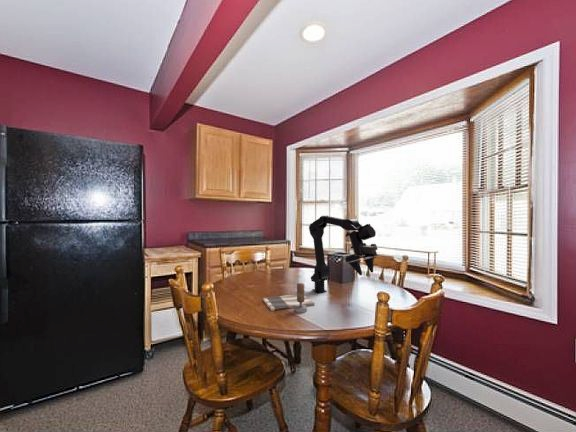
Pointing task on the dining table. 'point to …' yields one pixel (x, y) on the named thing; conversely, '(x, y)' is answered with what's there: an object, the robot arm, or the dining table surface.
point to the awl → (300, 299)
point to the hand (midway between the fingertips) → (366, 273)
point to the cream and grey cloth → (285, 302)
